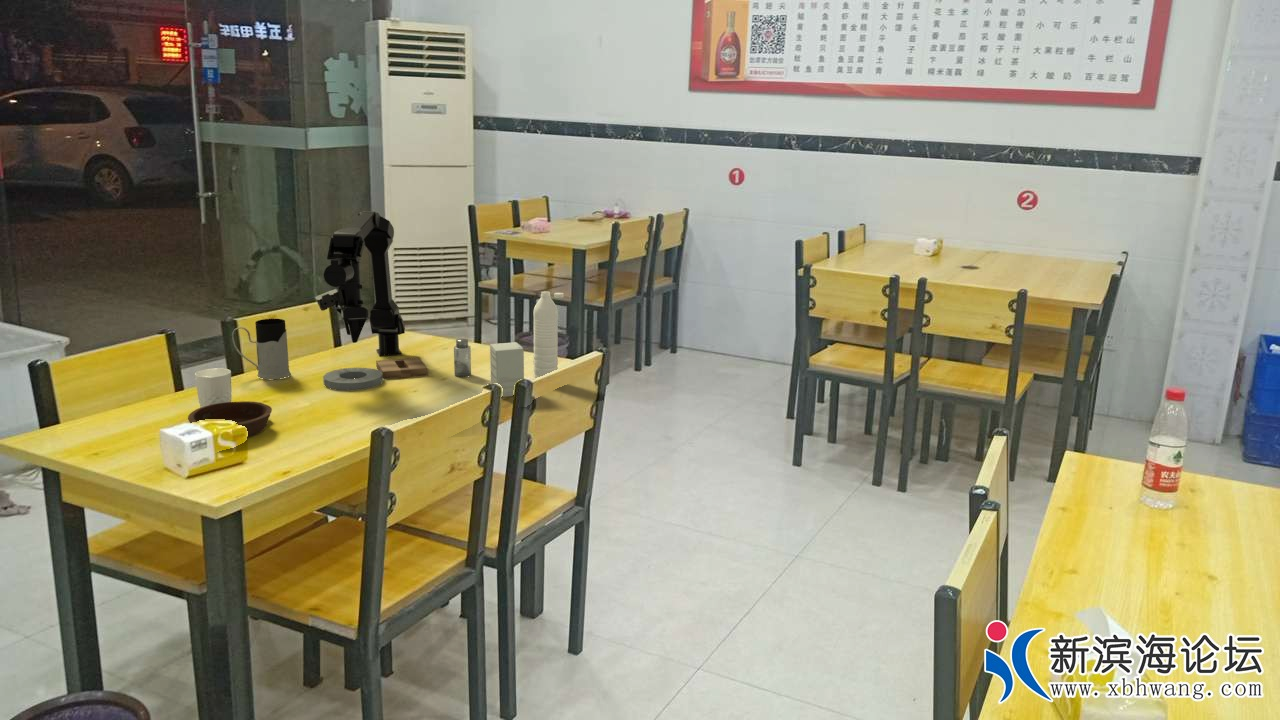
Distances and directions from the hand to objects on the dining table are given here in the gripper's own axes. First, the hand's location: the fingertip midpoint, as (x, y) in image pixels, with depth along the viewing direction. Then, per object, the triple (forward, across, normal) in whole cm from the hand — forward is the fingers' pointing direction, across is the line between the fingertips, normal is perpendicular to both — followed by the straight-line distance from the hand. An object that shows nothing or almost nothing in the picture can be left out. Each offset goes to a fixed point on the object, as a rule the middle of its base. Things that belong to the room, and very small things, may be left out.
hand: (352, 338), depth 268 cm
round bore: (+12, 0, 0) cm, 12 cm away
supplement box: (+12, +22, +36) cm, 44 cm away
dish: (+13, +32, -32) cm, 46 cm away
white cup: (+12, +15, -34) cm, 40 cm away
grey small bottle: (+12, +2, +29) cm, 31 cm away
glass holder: (+12, -14, -22) cm, 29 cm away
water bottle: (+12, +18, +48) cm, 53 cm away
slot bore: (+12, -7, +14) cm, 20 cm away
